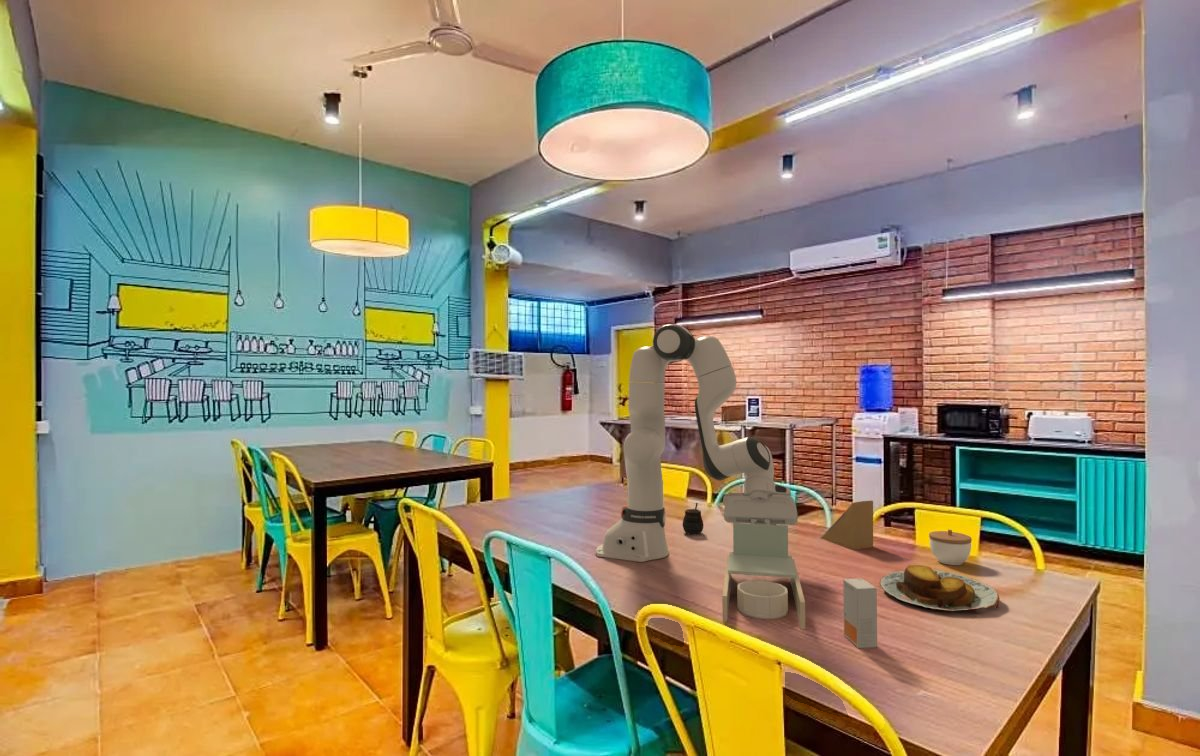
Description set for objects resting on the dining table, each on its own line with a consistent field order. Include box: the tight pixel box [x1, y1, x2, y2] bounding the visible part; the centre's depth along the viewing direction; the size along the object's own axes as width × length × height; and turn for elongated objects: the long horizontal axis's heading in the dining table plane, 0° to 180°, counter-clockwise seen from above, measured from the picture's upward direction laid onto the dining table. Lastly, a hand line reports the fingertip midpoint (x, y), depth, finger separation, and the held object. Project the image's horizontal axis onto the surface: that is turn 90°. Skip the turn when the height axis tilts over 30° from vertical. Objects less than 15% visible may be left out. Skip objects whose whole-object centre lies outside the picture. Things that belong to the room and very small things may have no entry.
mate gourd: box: [682, 502, 704, 536], centre depth 210 cm, size 7×8×10 cm
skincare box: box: [842, 578, 878, 649], centre depth 122 cm, size 6×4×12 cm
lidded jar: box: [928, 529, 973, 566], centre depth 175 cm, size 11×11×9 cm
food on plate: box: [879, 564, 1000, 617], centre depth 148 cm, size 25×25×7 cm
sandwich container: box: [820, 500, 874, 550], centre depth 197 cm, size 9×15×15 cm, turn 21°
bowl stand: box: [721, 554, 806, 630], centre depth 146 cm, size 17×32×6 cm, turn 166°
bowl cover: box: [728, 523, 796, 579], centre depth 153 cm, size 16×16×9 cm
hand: (760, 535), depth 166 cm, fingers closed
